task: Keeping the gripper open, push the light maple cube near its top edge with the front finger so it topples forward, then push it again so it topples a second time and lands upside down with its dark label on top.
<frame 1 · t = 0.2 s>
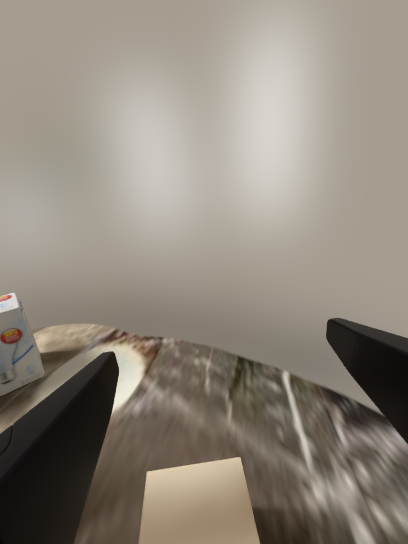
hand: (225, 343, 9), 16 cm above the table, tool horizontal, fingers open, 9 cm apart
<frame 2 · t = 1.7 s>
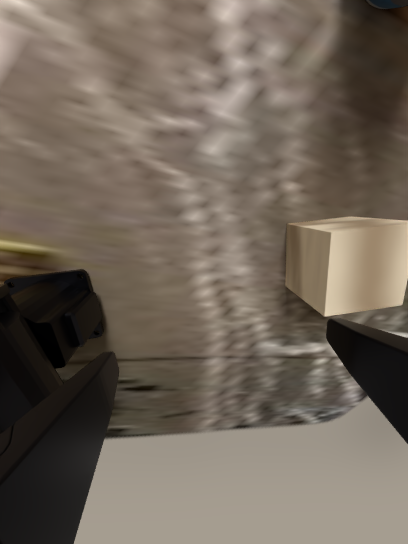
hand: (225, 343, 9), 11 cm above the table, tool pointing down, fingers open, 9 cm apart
maple block: (316, 252, 20), on the table
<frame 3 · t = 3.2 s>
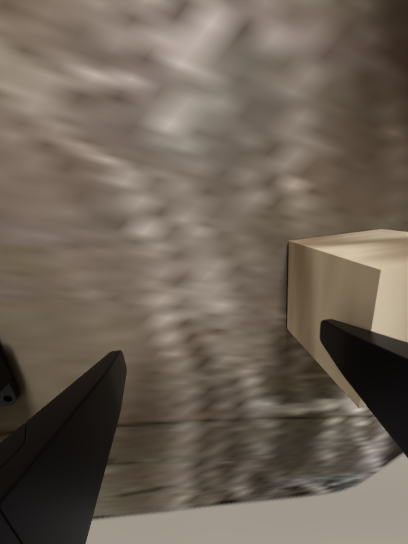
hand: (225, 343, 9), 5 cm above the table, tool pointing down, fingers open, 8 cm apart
maple block: (331, 280, 14), on the table, touching gripper
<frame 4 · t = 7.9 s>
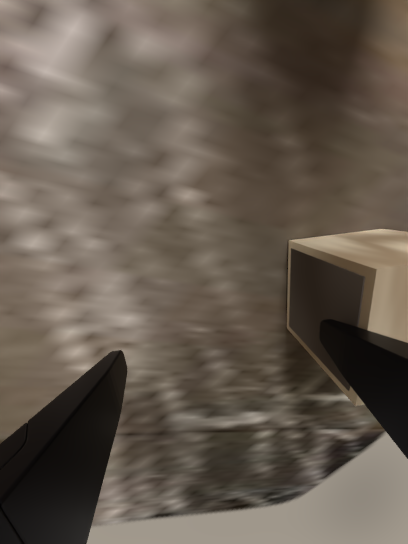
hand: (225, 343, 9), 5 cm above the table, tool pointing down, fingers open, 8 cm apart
maple block: (315, 308, 11), point 3 cm above the table, tilted 91°, touching gripper
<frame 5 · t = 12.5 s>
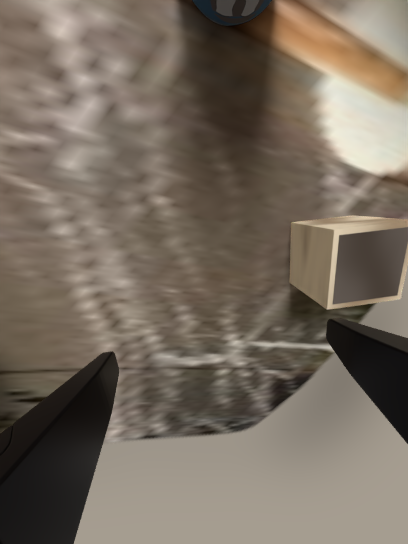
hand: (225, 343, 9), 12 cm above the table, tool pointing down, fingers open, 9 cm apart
maple block: (370, 267, 16), point 6 cm above the table, tilted 180°
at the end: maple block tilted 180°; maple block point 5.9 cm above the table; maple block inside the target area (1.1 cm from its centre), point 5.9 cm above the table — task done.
